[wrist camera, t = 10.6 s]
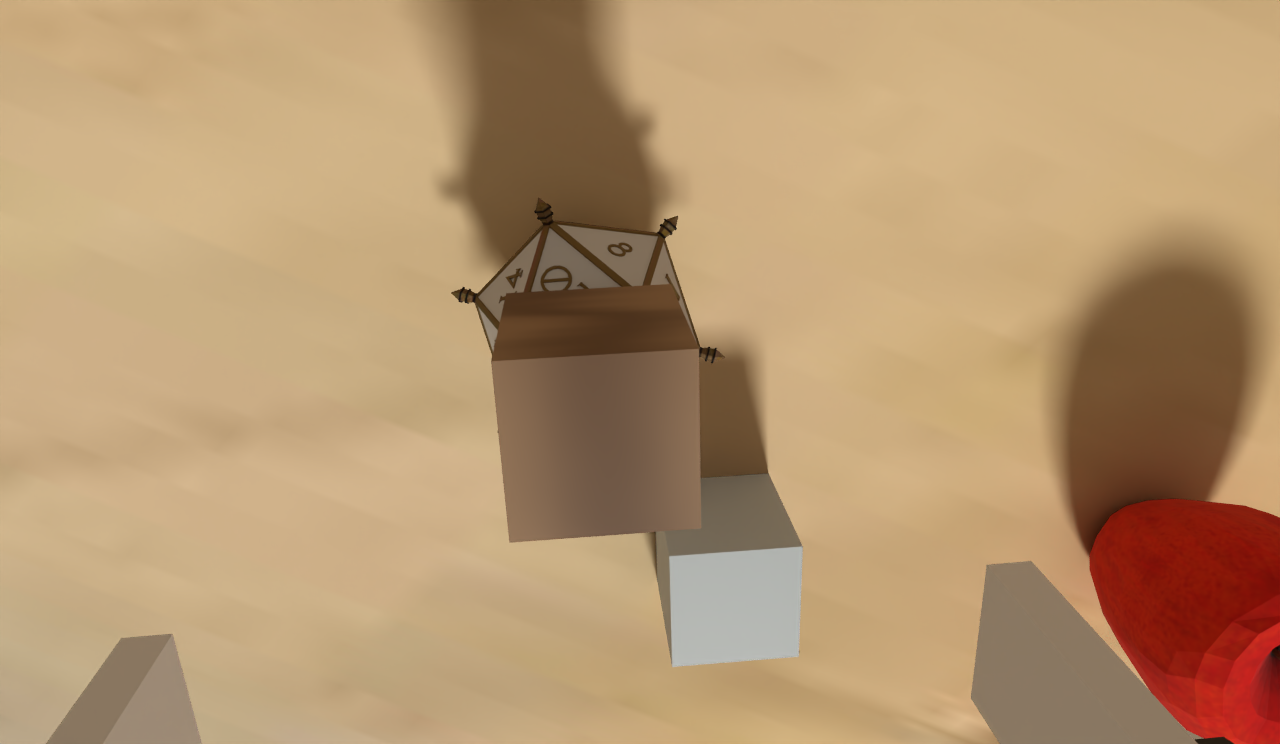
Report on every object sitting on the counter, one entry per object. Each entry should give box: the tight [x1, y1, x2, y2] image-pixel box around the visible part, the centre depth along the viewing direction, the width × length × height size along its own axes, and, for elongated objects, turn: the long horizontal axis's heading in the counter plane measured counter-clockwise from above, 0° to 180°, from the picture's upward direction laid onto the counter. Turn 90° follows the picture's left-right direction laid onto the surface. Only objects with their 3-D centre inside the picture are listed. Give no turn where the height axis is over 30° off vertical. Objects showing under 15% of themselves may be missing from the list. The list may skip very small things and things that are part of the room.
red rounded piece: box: [1090, 499, 1280, 744], centre depth 36 cm, size 9×9×11 cm
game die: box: [452, 197, 725, 363], centre depth 32 cm, size 9×8×10 cm
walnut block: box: [491, 284, 701, 542], centre depth 25 cm, size 5×5×6 cm
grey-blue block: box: [656, 473, 803, 667], centre depth 37 cm, size 5×5×6 cm
